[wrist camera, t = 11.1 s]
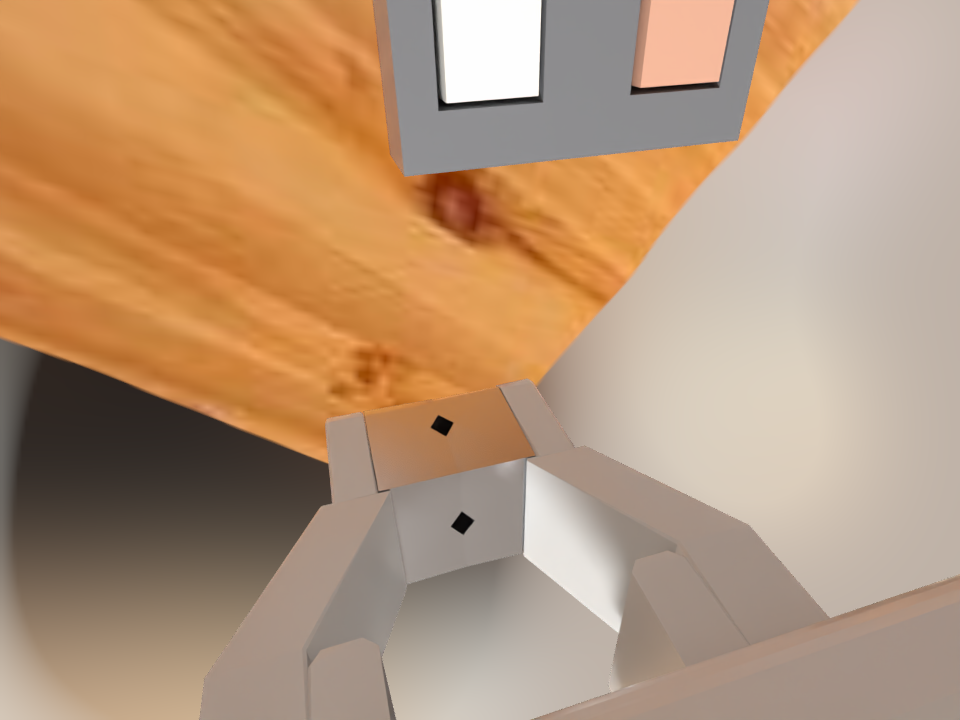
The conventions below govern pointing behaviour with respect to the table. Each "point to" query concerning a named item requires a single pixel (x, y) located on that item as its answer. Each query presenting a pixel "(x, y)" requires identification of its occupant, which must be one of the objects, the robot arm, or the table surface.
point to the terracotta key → (680, 41)
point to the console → (557, 92)
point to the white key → (486, 49)
